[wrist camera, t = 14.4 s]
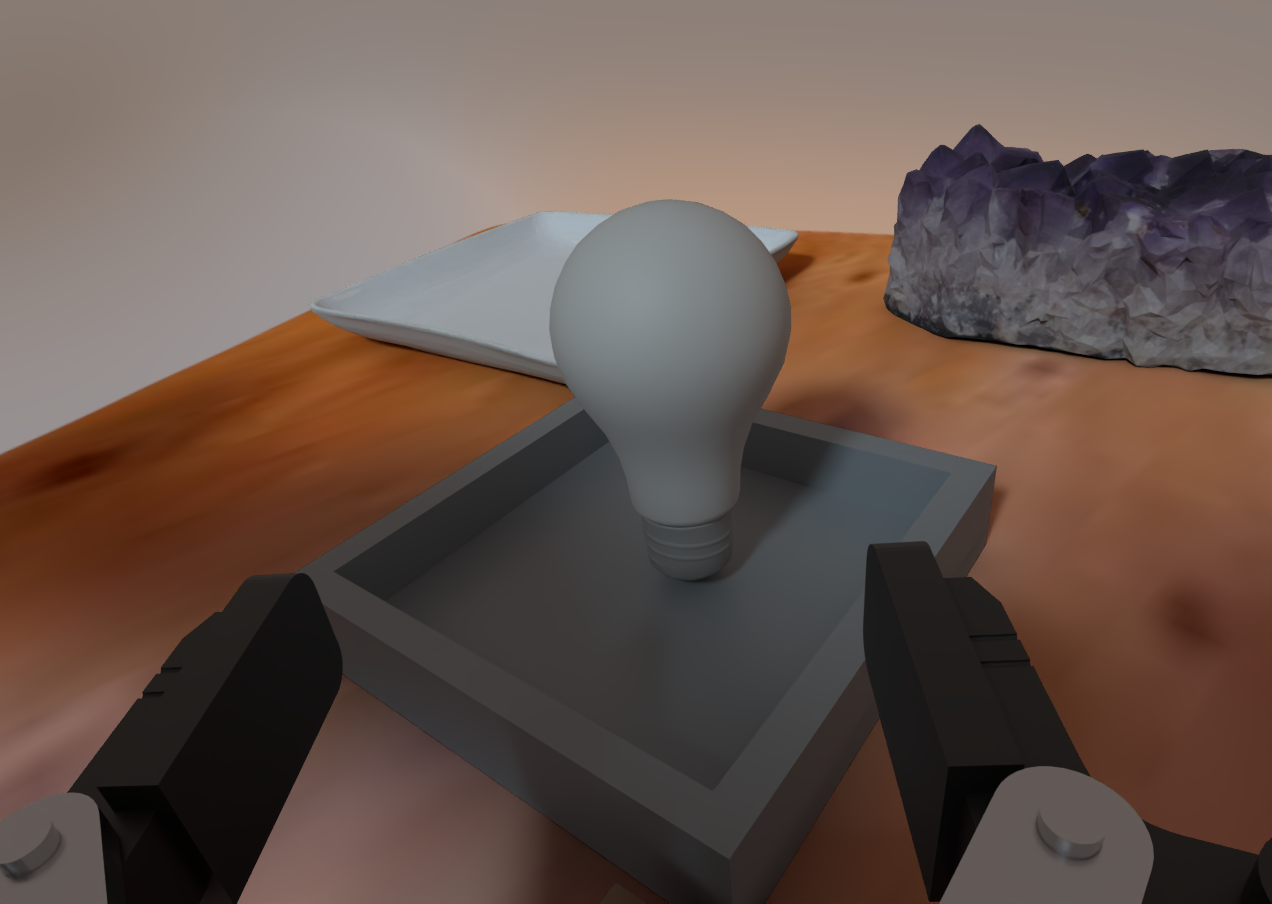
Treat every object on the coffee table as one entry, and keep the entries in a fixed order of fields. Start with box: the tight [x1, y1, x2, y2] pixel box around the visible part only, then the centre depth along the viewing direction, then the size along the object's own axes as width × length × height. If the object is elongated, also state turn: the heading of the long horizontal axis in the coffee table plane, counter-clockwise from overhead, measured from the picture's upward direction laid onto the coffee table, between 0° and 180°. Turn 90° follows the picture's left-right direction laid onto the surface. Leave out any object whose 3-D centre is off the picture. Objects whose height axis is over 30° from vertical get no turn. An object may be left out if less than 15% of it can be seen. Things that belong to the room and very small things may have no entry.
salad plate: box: [310, 211, 799, 384], centre depth 47 cm, size 21×21×3 cm
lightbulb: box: [549, 200, 791, 581], centre depth 22 cm, size 6×6×11 cm
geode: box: [884, 124, 1272, 375], centre depth 36 cm, size 20×12×10 cm, turn 60°
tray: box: [295, 397, 997, 904], centre depth 24 cm, size 15×15×3 cm
